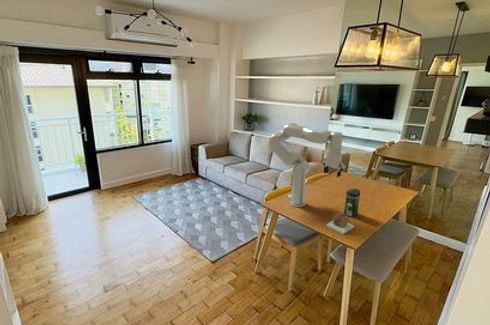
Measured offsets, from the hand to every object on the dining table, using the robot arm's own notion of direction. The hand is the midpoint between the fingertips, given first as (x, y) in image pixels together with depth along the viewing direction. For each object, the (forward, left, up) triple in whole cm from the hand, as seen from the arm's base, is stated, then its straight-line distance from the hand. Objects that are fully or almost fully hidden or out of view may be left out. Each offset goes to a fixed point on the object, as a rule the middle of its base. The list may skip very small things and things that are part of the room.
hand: (332, 174), depth 176 cm
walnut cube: (+17, -12, -27) cm, 34 cm away
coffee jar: (+12, +9, -28) cm, 32 cm away
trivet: (+17, -12, -28) cm, 35 cm away
